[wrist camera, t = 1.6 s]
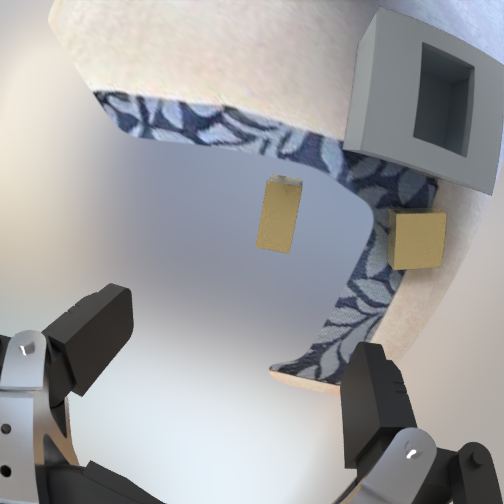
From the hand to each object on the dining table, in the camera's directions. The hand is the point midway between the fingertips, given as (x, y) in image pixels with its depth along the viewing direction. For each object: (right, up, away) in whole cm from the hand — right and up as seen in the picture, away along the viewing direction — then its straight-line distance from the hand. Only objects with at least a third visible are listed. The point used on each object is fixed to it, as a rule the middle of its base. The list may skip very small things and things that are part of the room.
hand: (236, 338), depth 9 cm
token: (+18, +5, +20) cm, 27 cm away
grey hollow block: (+16, +18, +15) cm, 28 cm away
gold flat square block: (+4, +8, +21) cm, 23 cm away
